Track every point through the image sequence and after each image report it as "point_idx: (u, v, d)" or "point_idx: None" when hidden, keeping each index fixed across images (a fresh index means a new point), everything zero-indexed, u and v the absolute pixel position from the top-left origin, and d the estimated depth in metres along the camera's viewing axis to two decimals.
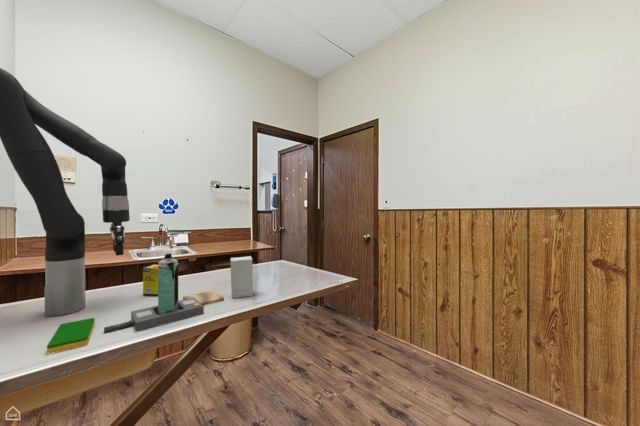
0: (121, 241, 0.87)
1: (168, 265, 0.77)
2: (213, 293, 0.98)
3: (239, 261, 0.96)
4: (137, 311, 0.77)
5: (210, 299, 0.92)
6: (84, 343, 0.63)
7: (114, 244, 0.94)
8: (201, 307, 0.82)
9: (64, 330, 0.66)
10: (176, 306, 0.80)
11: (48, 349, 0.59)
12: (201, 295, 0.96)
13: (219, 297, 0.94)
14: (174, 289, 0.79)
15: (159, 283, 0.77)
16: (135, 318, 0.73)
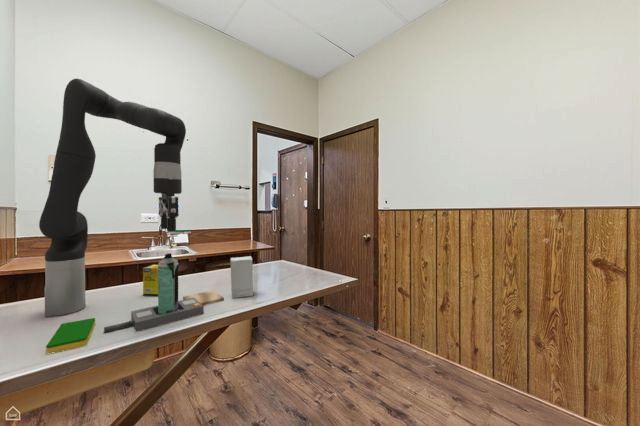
0: (175, 214, 0.74)
1: (168, 265, 0.77)
2: (213, 293, 0.98)
3: (239, 261, 0.96)
4: (137, 311, 0.77)
5: (210, 299, 0.92)
6: (83, 343, 0.63)
7: (162, 220, 0.82)
8: (201, 307, 0.82)
9: (64, 330, 0.67)
10: (176, 306, 0.80)
11: (47, 349, 0.59)
12: (201, 295, 0.96)
13: (219, 297, 0.94)
14: (174, 289, 0.79)
15: (159, 283, 0.77)
16: (135, 318, 0.73)
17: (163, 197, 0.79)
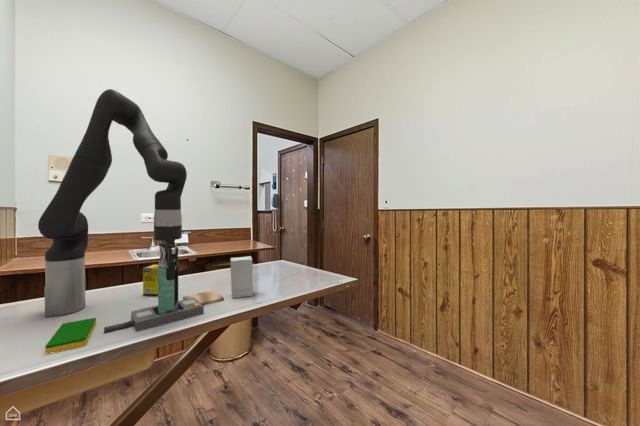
0: (174, 264, 0.76)
1: None
2: (213, 293, 0.98)
3: (239, 261, 0.96)
4: (137, 311, 0.77)
5: (210, 299, 0.92)
6: (82, 344, 0.63)
7: None
8: (201, 307, 0.82)
9: (64, 330, 0.67)
10: (176, 306, 0.80)
11: (46, 349, 0.59)
12: (201, 295, 0.96)
13: (219, 297, 0.94)
14: (174, 289, 0.79)
15: (159, 283, 0.77)
16: (135, 318, 0.73)
17: (163, 243, 0.79)
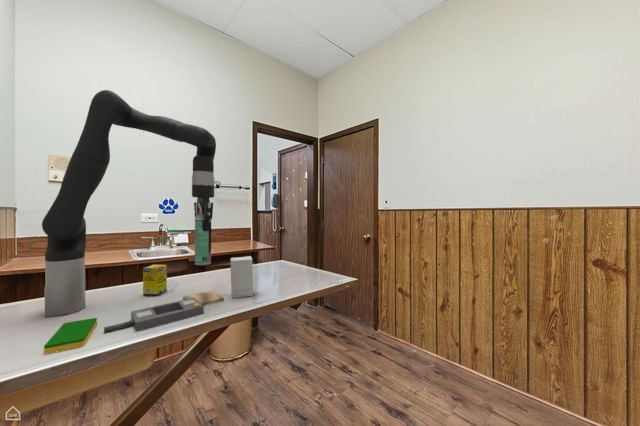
0: (210, 217, 0.89)
1: None
2: (213, 293, 0.98)
3: (239, 261, 0.96)
4: (137, 311, 0.77)
5: (210, 299, 0.92)
6: (80, 344, 0.62)
7: None
8: (201, 307, 0.82)
9: (65, 330, 0.67)
10: (210, 254, 0.94)
11: (45, 349, 0.59)
12: (201, 295, 0.96)
13: (219, 297, 0.94)
14: (208, 239, 0.93)
15: (196, 234, 0.91)
16: (135, 318, 0.73)
17: (199, 200, 0.93)
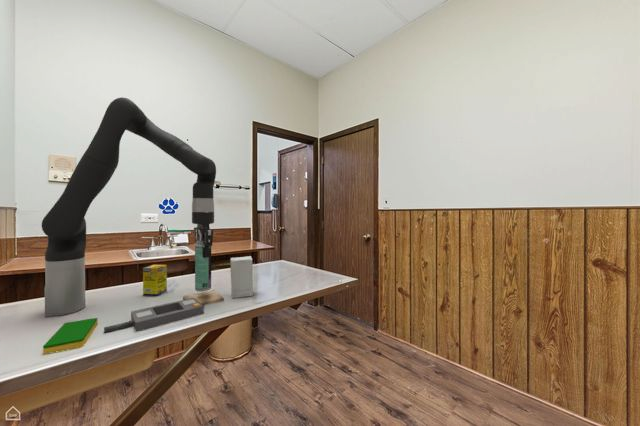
0: (210, 244, 0.90)
1: None
2: (213, 293, 0.98)
3: (239, 261, 0.96)
4: (137, 311, 0.77)
5: (210, 299, 0.92)
6: (79, 344, 0.62)
7: None
8: (201, 307, 0.82)
9: (65, 330, 0.67)
10: (210, 280, 0.94)
11: (44, 349, 0.59)
12: (201, 295, 0.96)
13: (219, 297, 0.94)
14: (208, 265, 0.93)
15: (196, 260, 0.92)
16: (135, 318, 0.73)
17: (199, 227, 0.93)
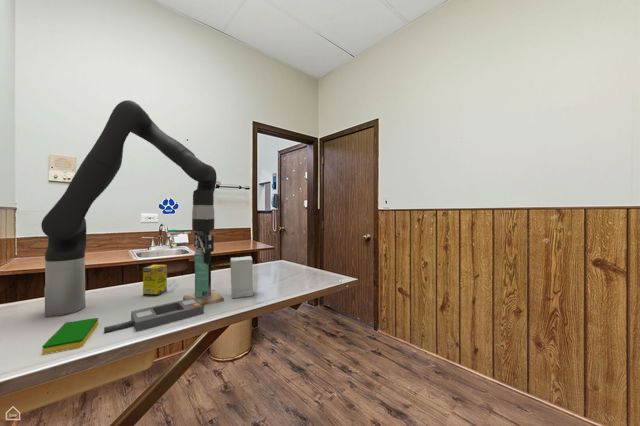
0: (211, 250, 0.89)
1: (203, 253, 0.91)
2: (213, 293, 0.98)
3: (239, 261, 0.96)
4: (137, 311, 0.77)
5: (210, 299, 0.92)
6: (79, 345, 0.62)
7: None
8: (201, 307, 0.82)
9: (65, 329, 0.67)
10: (209, 288, 0.94)
11: (43, 349, 0.59)
12: None
13: (219, 297, 0.94)
14: (208, 274, 0.93)
15: (195, 269, 0.92)
16: (135, 318, 0.73)
17: (199, 233, 0.93)
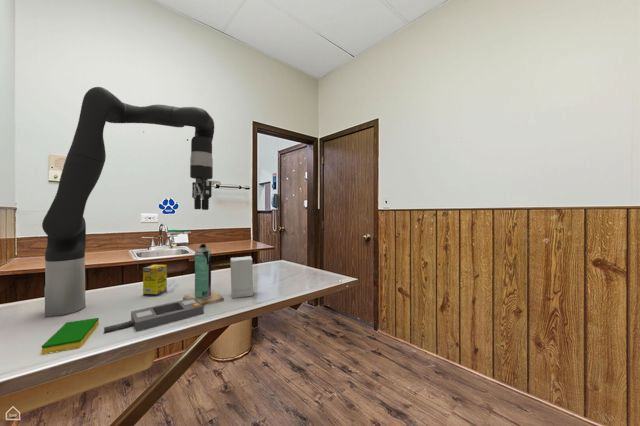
0: (209, 195, 0.88)
1: (204, 253, 0.92)
2: (213, 293, 0.98)
3: (239, 261, 0.96)
4: (137, 311, 0.77)
5: (210, 299, 0.92)
6: (77, 345, 0.62)
7: (195, 201, 0.96)
8: (201, 307, 0.82)
9: (65, 329, 0.67)
10: (209, 288, 0.94)
11: (42, 349, 0.59)
12: None
13: (219, 297, 0.94)
14: (208, 274, 0.93)
15: (196, 269, 0.92)
16: (135, 318, 0.73)
17: (197, 181, 0.93)
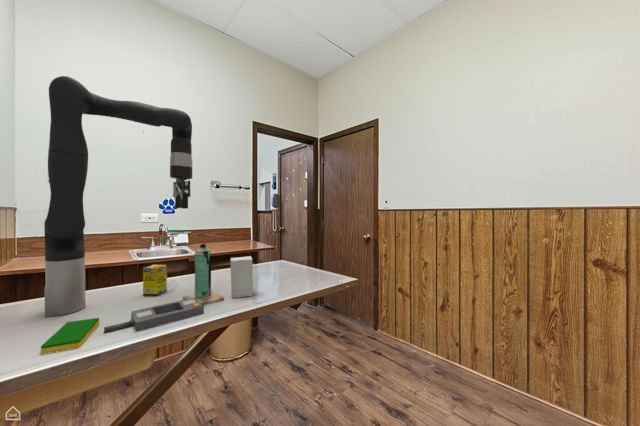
0: (188, 194, 0.92)
1: (203, 253, 0.91)
2: (213, 293, 0.98)
3: (239, 261, 0.96)
4: (137, 311, 0.77)
5: (210, 299, 0.92)
6: (76, 345, 0.62)
7: (176, 200, 0.99)
8: (201, 307, 0.82)
9: (65, 329, 0.67)
10: (209, 288, 0.94)
11: (42, 349, 0.59)
12: None
13: (219, 297, 0.94)
14: (208, 274, 0.93)
15: (196, 269, 0.92)
16: (135, 318, 0.73)
17: (177, 181, 0.96)
